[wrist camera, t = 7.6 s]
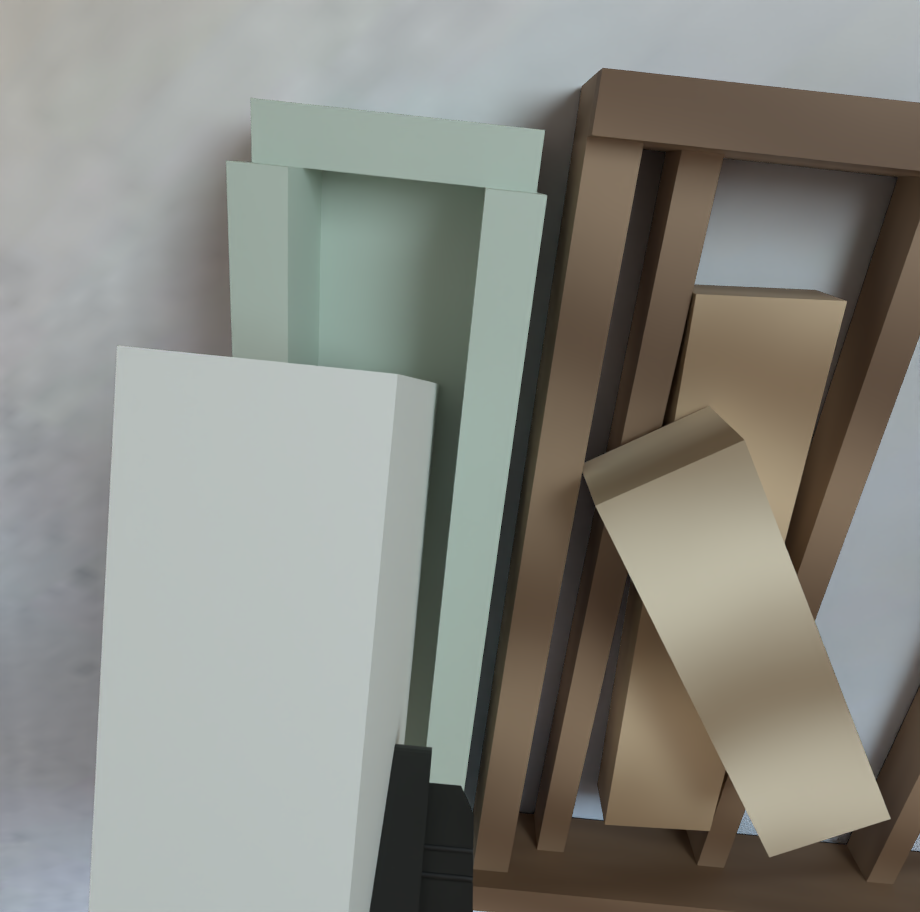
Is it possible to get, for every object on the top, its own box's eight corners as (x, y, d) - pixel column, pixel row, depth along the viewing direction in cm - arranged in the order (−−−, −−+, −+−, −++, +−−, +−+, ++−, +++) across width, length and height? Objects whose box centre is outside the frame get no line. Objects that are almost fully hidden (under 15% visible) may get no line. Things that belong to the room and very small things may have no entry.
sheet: (348, 374, 15) (117, 346, 5) (439, 384, 15) (398, 374, 5) (299, 960, 16) (39, 1884, 6) (382, 968, 16) (257, 1901, 6)
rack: (581, 86, 13) (602, 67, 11) (1499, 187, 14) (1710, 189, 11) (470, 830, 21) (469, 909, 19) (1045, 886, 22) (1113, 971, 19)
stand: (284, 110, 14) (223, 90, 10) (539, 138, 14) (556, 126, 10) (285, 812, 21) (250, 926, 18) (448, 828, 21) (442, 944, 18)
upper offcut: (580, 465, 15) (595, 505, 13) (709, 406, 14) (744, 439, 12) (739, 789, 19) (769, 857, 17) (847, 753, 18) (890, 818, 16)
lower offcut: (671, 279, 15) (696, 294, 14) (803, 285, 15) (847, 300, 13) (594, 767, 21) (604, 824, 19) (690, 773, 21) (709, 831, 19)
